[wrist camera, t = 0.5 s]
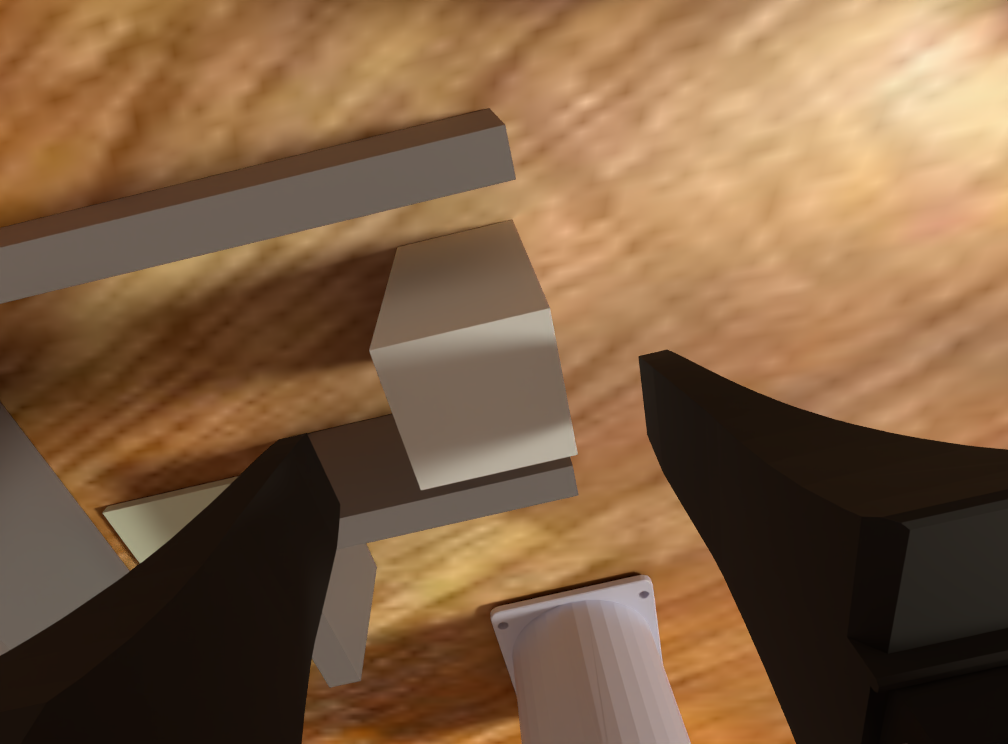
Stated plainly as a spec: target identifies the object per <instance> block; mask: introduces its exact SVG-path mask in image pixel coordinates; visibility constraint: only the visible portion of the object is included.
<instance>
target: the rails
mask: <svg viewBox="0 0 1008 744" xmlns="http://www.w3.org/2000/svg"><path fill="white" fill-rule="evenodd" d="M515 179H516V177H515V172H514V167H513V162H512V157H511V152H510V147H509V142H508V137H507V132H506V127H505V124H504V123H503V122H502V121H501V120H500V119H499V118H498V117H497V116H496V115H495V114H494V113H493V112H492V110H491V109H490V108H488V109H484V110H480V111H476V112H472V113H468V114H464V115H460V116H456V117H452V118H448V119H443V120H439V121H435V122H431V123H427V124H423V125H419V126H415V127H411V128H407V129H403V130H398V131H394V132H390V133H386V134H382V135H378V136H374V137H370V138H366V139H362V140H358V141H353V142H349V143H345V144H341V145H337V146H333V147H329V148H325V149H321V150H317V151H313V152H309V153H304V154H300V155H296V156H292V157H288V158H284V159H280V160H276V161H272V162H268V163H264V164H259V165H255V166H251V167H247V168H243V169H239V170H235V171H231V172H227V173H223V174H219V175H215V176H210V177H206V178H202V179H198V180H194V181H190V182H186V183H182V184H178V185H174V186H170V187H165V188H161V189H157V190H153V191H149V192H145V193H141V194H137V195H133V196H129V197H125V198H120V199H116V200H112V201H108V202H104V203H100V204H96V205H92V206H88V207H84V208H80V209H76V210H71V211H67V212H63V213H59V214H55V215H51V216H47V217H43V218H39V219H35V220H31V221H26V222H22V223H18V224H14V225H10V226H6V227H2V228H0V304H1V303H5V302H9V301H13V300H18V299H22V298H26V297H30V296H34V295H38V294H42V293H47V292H51V291H55V290H59V289H63V288H67V287H71V286H76V285H80V284H84V283H88V282H92V281H96V280H100V279H105V278H109V277H113V276H117V275H121V274H125V273H130V272H134V271H138V270H142V269H146V268H150V267H154V266H159V265H163V264H167V263H171V262H175V261H179V260H183V259H188V258H192V257H196V256H200V255H204V254H208V253H213V252H217V251H221V250H225V249H229V248H233V247H237V246H242V245H246V244H250V243H254V242H258V241H262V240H266V239H271V238H275V237H279V236H283V235H287V234H291V233H295V232H300V231H304V230H308V229H312V228H316V227H320V226H325V225H329V224H333V223H337V222H341V221H345V220H349V219H354V218H358V217H362V216H366V215H370V214H374V213H378V212H383V211H387V210H391V209H395V208H399V207H403V206H408V205H412V204H416V203H420V202H424V201H428V200H432V199H437V198H441V197H445V196H449V195H453V194H457V193H461V192H466V191H470V190H474V189H478V188H482V187H486V186H490V185H495V184H499V183H503V182H507V181H511V180H515ZM308 436H309V439H310V441H311V443H312V445H313V447H314V449H315V451H316V453H317V456H318V458H319V460H320V462H321V464H322V466H323V468H324V471H325V473H326V475H327V477H328V479H329V481H330V483H331V485H332V488H333V490H334V492H335V494H336V496H337V498H338V500H339V502H340V521H339V533H338V543H337V550H336V554H335V559H334V563H333V568H332V572H331V577H330V581H329V585H328V589H327V594H326V598H325V602H324V606H323V610H322V615H321V619H320V623H319V627H318V631H317V636H316V640H315V644H314V649H313V655H312V659H313V661H314V663H315V664H316V666H317V668H318V669H319V671H320V673H321V674H322V676H323V677H324V679H325V681H326V682H327V684H328V686H329V687H335V686H339V685H344V684H349V683H353V682H358V681H361V675H362V668H363V661H364V654H365V647H366V640H367V633H368V626H369V619H370V612H371V605H372V598H373V591H374V584H375V576H376V569H377V566H376V564H375V562H374V560H373V558H372V556H371V553H370V551H369V549H368V547H367V545H366V543H369V542H374V541H378V540H383V539H387V538H391V537H396V536H400V535H405V534H409V533H414V532H418V531H422V530H427V529H431V528H436V527H440V526H445V525H449V524H453V523H458V522H462V521H467V520H471V519H476V518H480V517H484V516H489V515H493V514H498V513H502V512H507V511H511V510H515V509H520V508H524V507H529V506H533V505H538V504H542V503H546V502H551V501H555V500H560V499H564V498H569V497H573V496H577V495H578V490H577V485H576V480H575V475H574V470H573V465H572V462H571V459H570V456H569V457H565V458H561V459H556V460H552V461H548V462H543V463H539V464H534V465H530V466H526V467H521V468H517V469H513V470H508V471H504V472H499V473H495V474H491V475H486V476H482V477H478V478H473V479H469V480H464V481H460V482H456V483H451V484H447V485H442V486H438V487H434V488H429V489H425V490H421V489H420V486H419V484H418V481H417V478H416V476H415V473H414V470H413V468H412V465H411V462H410V460H409V457H408V454H407V452H406V449H405V446H404V443H403V441H402V438H401V435H400V433H399V430H398V427H397V425H396V422H395V419H394V417H393V414H391V415H387V416H382V417H378V418H374V419H369V420H365V421H361V422H356V423H352V424H348V425H343V426H339V427H335V428H330V429H326V430H322V431H318V432H313V433H309V434H308ZM128 572H130V571H129V570H128V568H127V567H126V566H125V565H124V563H123V562H122V561H121V559H120V558H119V557H118V555H117V554H116V553H115V551H114V550H113V549H112V548H111V546H110V545H109V544H108V542H107V541H106V540H105V538H104V537H103V536H102V534H101V533H100V532H99V531H98V529H97V528H96V527H95V525H94V524H93V523H92V521H91V520H90V519H89V517H88V516H87V515H86V513H85V512H84V511H83V510H82V508H81V507H80V506H79V504H78V503H77V502H76V500H75V499H74V498H73V496H72V495H71V494H70V493H69V491H68V490H67V489H66V487H65V486H64V485H63V483H62V482H61V481H60V479H59V478H58V477H57V476H56V474H55V473H54V472H53V470H52V469H51V468H50V466H49V465H48V464H47V462H46V461H45V460H44V459H43V457H42V456H41V455H40V453H39V452H38V451H37V449H36V448H35V447H34V445H33V444H32V443H31V441H30V440H29V439H28V438H27V436H26V435H25V434H24V432H23V431H22V430H21V428H20V427H19V426H18V424H17V423H16V422H15V421H14V419H13V418H12V417H11V415H10V414H9V413H8V411H7V410H6V409H5V407H4V406H3V405H2V404H1V402H0V656H1V655H2V654H4V653H6V652H8V651H9V650H11V649H13V648H14V647H16V646H18V645H19V644H21V643H23V642H25V641H26V640H28V639H30V638H31V637H33V636H35V635H36V634H38V633H39V632H41V631H43V630H44V629H46V628H47V627H49V626H51V625H52V624H54V623H56V622H57V621H59V620H60V619H62V618H63V617H65V616H66V615H68V614H69V613H71V612H72V611H74V610H75V609H77V608H78V607H80V606H81V605H83V604H84V603H86V602H87V601H88V600H90V599H91V598H93V597H94V596H96V595H97V594H99V593H100V592H102V591H103V590H105V589H106V588H108V587H109V586H110V585H112V584H113V583H115V582H116V581H118V580H119V579H120V578H122V577H123V576H124V575H126V574H127V573H128Z"/></svg>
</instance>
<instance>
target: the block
mask: <svg viewBox="0 0 1008 744" xmlns="http://www.w3.org/2000/svg"><path fill="white" fill-rule="evenodd" d="M369 352H370V355H371V357H372V360H373V363H374V365H375V368H376V371H377V373H378V376H379V379H380V382H381V384H382V387H383V390H384V392H385V395H386V398H387V400H388V403H389V406H390V408H391V411H392V414H393V417H394V419H395V422H396V425H397V427H398V430H399V433H400V435H401V438H402V441H403V443H404V446H405V449H406V452H407V454H408V457H409V460H410V462H411V465H412V468H413V470H414V473H415V476H416V478H417V481H418V484H419V486H420V489H421V490H425V489H429V488H434V487H438V486H442V485H447V484H451V483H456V482H460V481H464V480H469V479H473V478H478V477H482V476H486V475H491V474H495V473H499V472H504V471H508V470H513V469H517V468H521V467H526V466H530V465H534V464H539V463H543V462H548V461H552V460H556V459H561V458H565V457H569V456H574V455H578V453H577V448H576V443H575V437H574V432H573V427H572V422H571V416H570V411H569V406H568V401H567V395H566V390H565V385H564V380H563V374H562V369H561V364H560V359H559V353H558V348H557V343H556V338H555V332H554V327H553V322H552V317H551V311H550V307H549V305H548V302H547V300H546V298H545V295H544V293H543V291H542V288H541V286H540V284H539V281H538V279H537V276H536V274H535V272H534V269H533V267H532V265H531V262H530V260H529V258H528V255H527V253H526V251H525V248H524V246H523V243H522V241H521V239H520V236H519V234H518V232H517V229H516V227H515V225H514V222H513V220H509V221H505V222H501V223H496V224H492V225H488V226H484V227H480V228H476V229H471V230H467V231H463V232H459V233H455V234H451V235H446V236H442V237H438V238H434V239H430V240H425V241H421V242H417V243H413V244H409V245H405V246H400V247H397V250H396V254H395V258H394V261H393V265H392V269H391V272H390V276H389V280H388V283H387V287H386V291H385V294H384V298H383V302H382V305H381V309H380V312H379V316H378V320H377V323H376V327H375V331H374V334H373V338H372V342H371V345H370V349H369Z"/></svg>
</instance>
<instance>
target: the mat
mask: <svg viewBox="0 0 1008 744" xmlns="http://www.w3.org/2000/svg"><path fill="white" fill-rule="evenodd" d="M237 477H238V476H237ZM237 477H232V478H228V479H224V480H219V481H215V482H211V483H206V484H202V485H198V486H193V487H189V488H185V489H180V490H176V491H172V492H167V493H163V494H159V495H154V496H150V497H146V498H141V499H137V500H133V501H128V502H124V503H119V504H115V505H111V506H107V508H106V509H105V510H104V511H103V515H104V516H105V517H106V519H107V520H108V521H109V523H110V524H111V525H112V527H113V528H114V529H115V531H116V532H117V533H118V535H119V536H120V537H121V539H122V540H123V541H124V543H125V544H126V545H127V547H128V548H129V550H130V551H131V552H132V554H133V555H134V556H135V558H136V559H137V560H138V562H139V563H141V562H143V561H144V560H145V559H147V558H148V557H149V556H150V555H152V554H153V553H154V552H155V551H157V550H158V549H159V548H160V547H162V546H163V545H164V544H165V543H166V542H168V541H169V540H170V539H171V538H172V537H173V536H175V535H176V534H177V533H178V532H179V531H180V530H181V529H182V528H184V527H185V526H186V525H187V524H188V523H189V522H190V521H191V520H192V519H194V518H195V517H196V516H197V515H198V514H199V513H200V512H201V511H202V510H204V509H205V508H206V507H207V506H208V505H209V504H210V503H211V502H212V501H213V500H215V499H216V498H217V497H218V496H219V495H220V494H221V493H222V492H223V491H224V490H225V489H226V488H227V487H228V486H229V485H230V484H231V483H232V482H233V481H234V480H235V479H236V478H237Z"/></svg>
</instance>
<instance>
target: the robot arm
mask: <svg viewBox="0 0 1008 744" xmlns="http://www.w3.org/2000/svg"><path fill="white" fill-rule="evenodd" d="M639 365H640V374H641V383H642V392H643V401H644V410H645V418H646V427H647V435H648V438H649V440H650V442H651V445H652V447H653V450H654V452H655V455H656V457H657V459H658V462H659V464H660V466H661V468H662V471H663V473H664V475H665V476H666V478H667V480H668V482H669V483H670V485H671V487H672V488H673V490H674V492H675V494H676V495H677V497H678V499H679V500H680V502H681V504H682V505H683V507H684V509H685V510H686V512H687V514H688V515H689V517H690V519H691V520H692V522H693V524H694V525H695V527H696V529H697V530H698V532H699V534H700V536H701V537H702V539H703V541H704V542H705V544H706V546H707V547H708V549H709V551H710V552H711V554H712V556H713V558H714V559H715V561H716V563H717V565H718V567H719V569H720V571H721V572H722V574H723V576H724V579H725V581H726V583H727V585H728V587H729V589H730V592H731V594H732V596H733V598H734V600H735V602H736V605H737V607H738V609H739V611H740V613H741V615H742V618H743V620H744V622H745V624H746V627H747V629H748V631H749V633H750V636H751V638H752V640H753V642H754V645H755V647H756V649H757V652H758V654H759V656H760V658H761V661H762V663H763V665H764V667H765V670H766V672H767V675H768V677H769V679H770V682H771V684H772V686H773V689H774V691H775V694H776V696H777V698H778V701H779V703H780V705H781V708H782V710H783V713H784V715H785V717H786V720H787V722H788V724H789V727H790V729H791V732H792V734H793V737H794V739H795V742H796V744H1008V450H1006V449H995V448H985V447H975V446H967V445H960V444H953V443H947V442H940V441H934V440H927V439H921V438H915V437H910V436H905V435H899V434H894V433H889V432H885V431H880V430H876V429H872V428H867V427H863V426H859V425H854V424H850V423H846V422H843V421H839V420H835V419H832V418H828V417H825V416H822V415H819V414H816V413H812V412H809V411H806V410H803V409H799V408H797V407H794V406H791V405H788V404H785V403H782V402H780V401H777V400H775V399H772V398H770V397H767V396H765V395H762V394H760V393H757V392H755V391H753V390H750V389H748V388H746V387H743V386H741V385H739V384H737V383H735V382H732V381H730V380H728V379H726V378H724V377H722V376H720V375H718V374H716V373H714V372H712V371H710V370H708V369H706V368H704V367H702V366H700V365H698V364H696V363H694V362H692V361H690V360H688V359H686V358H684V357H682V356H680V355H678V354H676V353H674V352H671V351H669V350H663V351H659V352H655V353H650V354H646V355H642V356H639ZM339 521H340V502H339V500H338V498H337V496H336V494H335V492H334V490H333V488H332V485H331V483H330V481H329V479H328V477H327V475H326V473H325V471H324V468H323V466H322V464H321V462H320V460H319V458H318V456H317V453H316V451H315V449H314V447H313V445H312V443H311V441H310V439H309V436H308V434H307V433H305V434H301V435H296V436H292V437H288V438H283V439H279V440H278V441H277V442H275V443H274V444H273V445H272V446H270V447H269V448H268V449H267V450H266V451H265V452H264V453H263V454H261V455H260V456H259V457H258V458H257V459H256V460H255V461H254V462H253V463H252V464H251V465H250V466H249V467H248V468H247V469H246V470H245V471H244V472H243V473H242V474H241V475H240V476H238V477H237V478H236V479H235V480H234V481H233V482H232V483H231V484H230V485H229V486H228V487H227V488H226V489H225V490H224V491H223V492H222V493H221V494H220V495H219V496H218V497H217V498H216V499H215V500H213V501H212V502H211V503H210V504H209V505H208V506H207V507H206V508H205V509H204V510H202V511H201V512H200V513H199V514H198V515H197V516H196V517H195V518H194V519H192V520H191V521H190V522H189V523H188V524H187V525H186V526H185V527H184V528H182V529H181V530H180V531H179V532H178V533H177V534H176V535H175V536H173V537H172V538H171V539H170V540H169V541H168V542H166V543H165V544H164V545H163V546H162V547H160V548H159V549H158V550H157V551H155V552H154V553H153V554H152V555H150V556H149V557H148V558H147V559H145V560H144V561H143V562H141V563H140V564H139V565H137V566H136V567H135V568H134V569H132V570H131V571H130V572H128V573H127V574H126V575H124V576H123V577H122V578H120V579H119V580H118V581H116V582H115V583H113V584H112V585H110V586H109V587H108V588H106V589H105V590H103V591H102V592H100V593H99V594H97V595H96V596H94V597H93V598H91V599H90V600H88V601H87V602H86V603H84V604H83V605H81V606H80V607H78V608H77V609H75V610H74V611H72V612H71V613H69V614H68V615H66V616H65V617H63V618H62V619H60V620H59V621H57V622H56V623H54V624H52V625H51V626H49V627H47V628H46V629H44V630H43V631H41V632H39V633H38V634H36V635H35V636H33V637H31V638H30V639H28V640H26V641H25V642H23V643H21V644H19V645H18V646H16V647H14V648H13V649H11V650H9V651H8V652H6V653H4V654H2V655H1V656H0V744H301V743H302V733H303V723H304V713H305V705H306V697H307V689H308V681H309V673H310V665H311V660H312V655H313V649H314V644H315V640H316V636H317V631H318V627H319V623H320V619H321V615H322V610H323V606H324V602H325V598H326V594H327V589H328V585H329V581H330V577H331V572H332V568H333V563H334V559H335V554H336V550H337V543H338V533H339ZM642 591H643V592H642ZM490 616H491V622H492V625H493V628H494V631H495V634H496V637H497V640H498V643H499V646H500V649H501V652H502V654H503V657H504V660H505V663H506V666H507V669H508V672H509V675H510V678H511V681H512V683H513V686H514V689H515V692H516V695H517V703H518V712H519V721H520V730H521V740H522V744H691V742H690V739H689V737H688V734H687V731H686V728H685V726H684V723H683V720H682V717H681V714H680V712H679V709H678V706H677V703H676V700H675V698H674V695H673V692H672V689H671V686H670V684H669V681H668V678H667V675H666V672H665V670H664V667H663V662H662V654H661V646H660V638H659V630H658V622H657V615H656V607H655V599H654V591H653V584H652V582H651V579H650V577H648V576H646V575H637V576H633V577H628V578H624V579H619V580H615V581H610V582H606V583H601V584H597V585H592V586H588V587H583V588H579V589H574V590H570V591H565V592H561V593H556V594H552V595H547V596H543V597H538V598H534V599H529V600H525V601H520V602H516V603H511V604H506V605H502V606H498V607H495V608H494V609H492V611H491V612H490Z"/></svg>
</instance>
